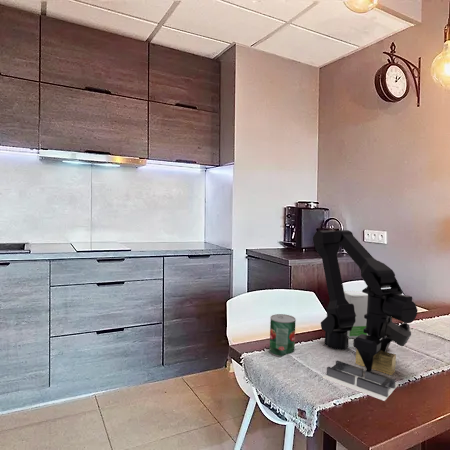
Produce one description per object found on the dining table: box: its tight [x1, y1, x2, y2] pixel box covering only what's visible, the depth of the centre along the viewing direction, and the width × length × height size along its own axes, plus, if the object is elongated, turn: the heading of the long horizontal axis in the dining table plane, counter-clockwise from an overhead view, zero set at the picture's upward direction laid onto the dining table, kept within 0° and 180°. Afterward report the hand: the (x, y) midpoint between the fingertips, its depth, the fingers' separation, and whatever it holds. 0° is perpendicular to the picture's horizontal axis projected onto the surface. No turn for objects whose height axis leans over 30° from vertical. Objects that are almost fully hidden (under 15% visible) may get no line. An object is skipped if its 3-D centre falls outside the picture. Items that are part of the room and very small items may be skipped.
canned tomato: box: [268, 313, 297, 358], centre depth 113 cm, size 8×8×11 cm
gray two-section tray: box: [325, 360, 397, 397], centre depth 94 cm, size 16×6×2 cm, turn 48°
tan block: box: [355, 348, 397, 376], centre depth 102 cm, size 10×3×6 cm, turn 48°
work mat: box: [321, 371, 400, 402], centre depth 94 cm, size 16×11×1 cm
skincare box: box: [344, 290, 368, 339], centre depth 130 cm, size 8×7×16 cm
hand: (374, 365), depth 102 cm, fingers open, 9 cm apart
